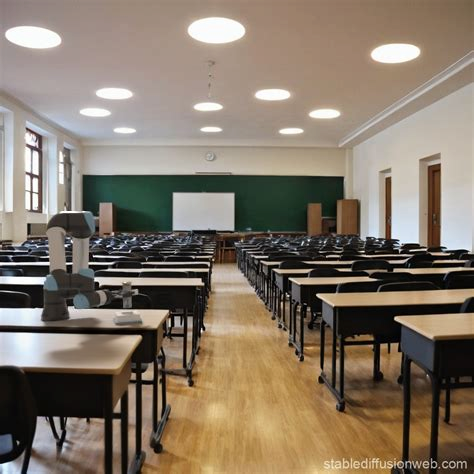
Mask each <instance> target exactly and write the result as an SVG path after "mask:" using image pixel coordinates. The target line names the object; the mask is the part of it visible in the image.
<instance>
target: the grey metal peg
mask: <svg viewBox="0 0 474 474" xmlns="http://www.w3.org/2000/svg"><path fill="white" fill-rule="evenodd" d="M121 283H122V290H123V292H128V291H131V290H132V284H133V281H130V280H127V281H122V282H121ZM122 303H123V306H122V308H123V309H130V308H132V297H126V298H122Z"/></svg>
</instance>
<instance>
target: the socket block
mask: <svg viewBox="0 0 474 474" xmlns="http://www.w3.org/2000/svg"><path fill="white" fill-rule="evenodd" d="M114 315H115V317H113V322H114V324H115V326H118V325H120V326H121V325H129V324H132V325H133V324H142V323H143V320H142V318H141V314H140V312H139V311H138V309H134V310H123V311H122V310H121V311H115V313H114Z"/></svg>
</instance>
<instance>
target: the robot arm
mask: <svg viewBox="0 0 474 474" xmlns="http://www.w3.org/2000/svg"><path fill="white" fill-rule="evenodd" d="M93 233H96V226H95V219H94V215H93V212H91V211H84V210H82V211H75V210H74V211H65V210H64V211H59V212H57V213H55V214H54V215H53V216H52V217H51V218H50V219H49V220H48V222H47V224H46V228H45V236H47V239H48V256H49V257H48V260H49V274H47V275H46V277H45V280H44V281H43V288H42V289H43V309H42V312H41V315H40V320H41V319H42V320H41V321H44V320H46V321H48V322H52V321H53V320H55V321H62V320H66V318H67V319H68V317H69V316H70V311H69V308H68V306H67V300H71V299H73V301H72V303H73V305H74V308H76V309H77V310H88V309H91V308H95V307H97V308H99V307H100V306H104V305H109V304H111V302H112V301H114V300H121V299H122V300H123V298H126V297H131V298H132V297H133V296H136V295H139V289H138V288H137V289H131V291H128V292H123V289H121V288H119V289H118V290H112V291H110V290H109V289H101V290H96V291H95V272H94V270H93V269H92V268H89V257H90V256H89V255H90V254H89V253H90V238H92V236H93ZM67 234H69V236H70V237H71V238H72V273H67V261H66V248H65V245H66V244H65V236H66V235H67ZM69 318H70V317H69Z"/></svg>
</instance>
